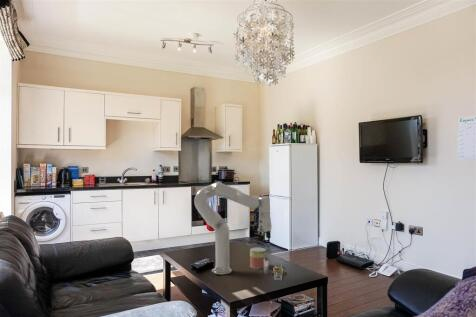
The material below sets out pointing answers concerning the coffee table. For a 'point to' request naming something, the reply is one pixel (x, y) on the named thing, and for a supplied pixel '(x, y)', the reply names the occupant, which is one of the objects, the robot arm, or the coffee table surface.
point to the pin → (266, 265)
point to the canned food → (257, 257)
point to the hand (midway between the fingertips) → (264, 239)
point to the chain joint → (278, 272)
